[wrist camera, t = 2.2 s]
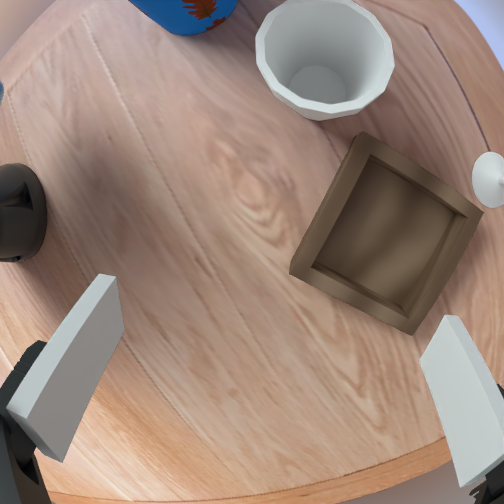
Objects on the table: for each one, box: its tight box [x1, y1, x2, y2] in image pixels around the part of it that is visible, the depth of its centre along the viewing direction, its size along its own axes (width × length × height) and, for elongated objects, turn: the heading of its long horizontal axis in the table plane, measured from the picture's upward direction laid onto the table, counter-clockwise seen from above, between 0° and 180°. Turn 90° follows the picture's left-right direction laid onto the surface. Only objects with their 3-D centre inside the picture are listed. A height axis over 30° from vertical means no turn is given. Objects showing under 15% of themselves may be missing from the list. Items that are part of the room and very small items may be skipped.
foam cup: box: [255, 0, 395, 121], centre depth 24 cm, size 10×9×13 cm
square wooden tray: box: [289, 132, 484, 336], centre depth 30 cm, size 15×15×4 cm
